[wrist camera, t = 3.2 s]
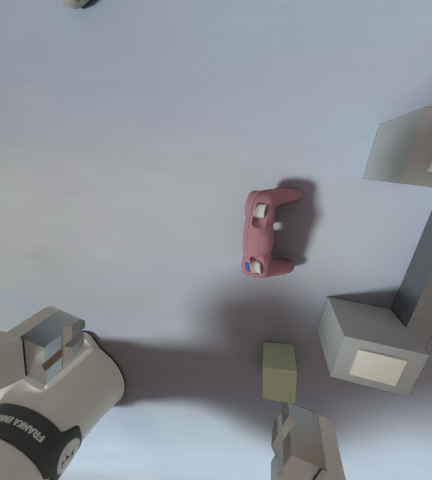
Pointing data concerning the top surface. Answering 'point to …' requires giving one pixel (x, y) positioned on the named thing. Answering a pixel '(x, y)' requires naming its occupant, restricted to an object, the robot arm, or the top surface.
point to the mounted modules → (373, 317)
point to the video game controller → (264, 232)
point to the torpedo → (74, 3)
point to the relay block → (279, 372)
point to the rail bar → (418, 291)
